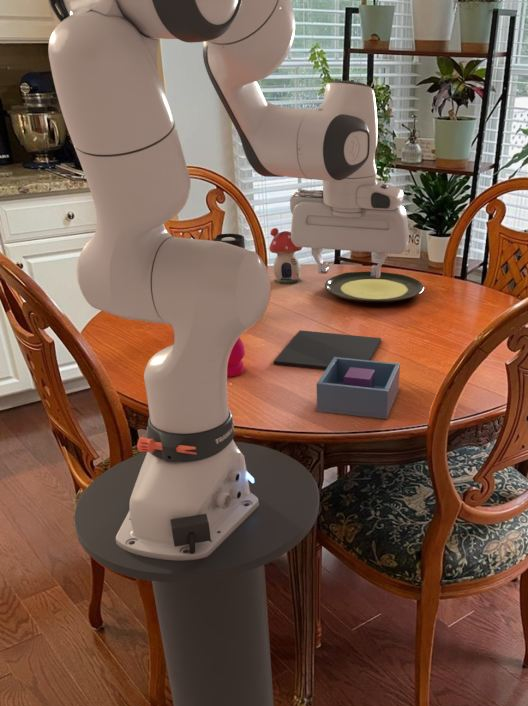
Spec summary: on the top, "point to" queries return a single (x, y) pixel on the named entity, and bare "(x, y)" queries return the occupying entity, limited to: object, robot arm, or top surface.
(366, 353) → the plate
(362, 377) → the block
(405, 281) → the plate
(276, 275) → the decorative ornament
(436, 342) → the top surface
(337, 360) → the basket
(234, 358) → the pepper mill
